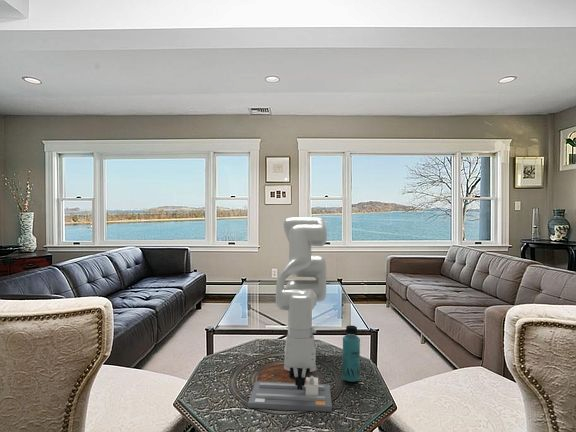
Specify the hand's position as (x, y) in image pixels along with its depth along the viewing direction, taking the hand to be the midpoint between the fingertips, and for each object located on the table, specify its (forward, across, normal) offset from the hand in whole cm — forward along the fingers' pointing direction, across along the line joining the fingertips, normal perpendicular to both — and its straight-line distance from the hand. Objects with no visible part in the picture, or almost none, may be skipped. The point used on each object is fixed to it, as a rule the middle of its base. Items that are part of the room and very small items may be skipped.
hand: (299, 387), depth 114 cm
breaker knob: (+2, -4, 0) cm, 4 cm away
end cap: (+4, +1, -19) cm, 19 cm away
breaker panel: (+4, +3, 0) cm, 5 cm away
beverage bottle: (+4, -18, -13) cm, 23 cm away
